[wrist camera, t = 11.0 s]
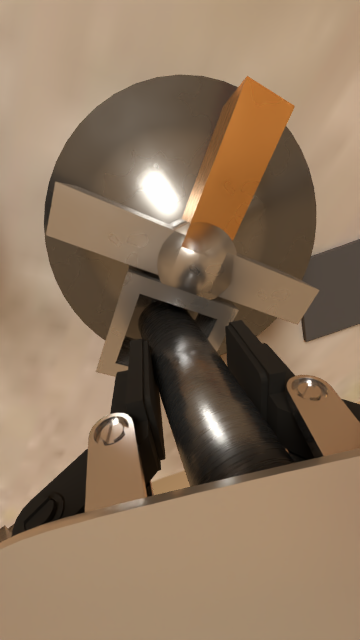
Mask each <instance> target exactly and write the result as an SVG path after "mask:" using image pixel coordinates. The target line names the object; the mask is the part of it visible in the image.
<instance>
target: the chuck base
mask: <svg viewBox="0 0 360 640" xmlns="http://www.w3.org/2000/svg"><path fill="white" fill-rule="evenodd" d="M237 88H238V87H236V86H233V85H231V84H229V83H227V82H224V81H220V80H216V79H212V78H208V77H204V76H192V75H173V76H164V77H156V78H153V79H150V80H146V81H143V82H140V83H136V84H134V85H132V86H130V87H128V88H126V89H124V90H122V91H120V92H118V93H115V94H114V95H112V96H111V97H110V98H108V99H107V100H106V101H104V102H103V103H101V104H100V105H99V106H97V107H96V108H95V109H94V110H93V111H92V112H91V113H90V114H89V115H88V116H87V117H86V118H85V119H84V120H83V121H82V122H81V123H80V124H79V125H78V127H77V128H76V129H75V131H74V132H73V134H72V135H71V136H70V138H69V139H68V141H67V142H66V144H65V146H64V148H63V150H62V152H61V154H60V155H59V157H58V159H57V161H56V164H55V167H54V170H53V173H52V176H51V178H50V181H49V186H48V191H47V196H46V201H45V215H44V230H45V242H46V248H47V252H48V257H49V262H50V265H51V268H52V271H53V273H54V276H55V279H56V281H57V283H58V285H59V287H60V289H61V291H62V293H63V295H64V297H65V298H66V300H67V301H68V303H69V304H70V306H71V307H72V309H73V310H74V312H75V313H76V314H77V315H78V316H79V317H80V319H81V320H82V321H83V322H84V323H85V324H86V325H87V326H88V327H89V328H90V329H92V330H93V331H94V332H95V333H96V334H97V335H99V336H100V337H101V338H103V339H104V340H106V337H107V334H108V331H109V328H110V325H111V322H112V318H113V315H114V312H115V309H116V306H117V303H118V299H119V296H120V293H121V290H122V287H123V284H124V280H125V277H126V274H127V271H128V268H129V264H126V263H123V262H120V261H117V260H115V259H112V258H109V257H106V256H103V255H101V254H98V253H95V252H92V251H89V250H86V249H84V248H81V247H78V246H75V245H72V244H70V243H67V242H64V241H61V240H58V239H56V238H53V237H50V236H47V235H46V232H47V226H48V220H49V215H50V209H51V203H52V198H53V192H54V187H55V181H56V182H61V183H65V184H70V185H75V186H78V187H81V188H83V189H86V190H88V191H90V192H93V193H95V194H98V195H100V196H102V197H105V198H107V199H110V200H112V201H114V202H117V203H119V204H122V205H124V206H126V207H129V208H131V209H134V210H136V211H138V212H141V213H143V214H146V215H148V216H150V217H153V218H155V219H158V220H160V221H163V222H165V223H167V224H171V223H172V222H174V221H176V220H179V219H182V216H183V214H184V211H185V208H186V205H187V203H188V200H189V197H190V195H191V192H192V189H193V187H194V184H195V181H196V179H197V176H198V173H199V170H200V168H201V165H202V162H203V160H204V157H205V154H206V152H207V149H208V146H209V144H210V141H211V138H212V135H213V133H214V130H215V127H216V125H217V122H218V119H219V117H220V114H221V111H222V108H223V106H224V105H225V103H226V102H227V101H228V100H229V98H230V97H231V96H232V95H233V93H234V92H235V91H236V90H237ZM315 230H316V201H315V193H314V186H313V182H312V179H311V175H310V171H309V167H308V165H307V163H306V160H305V158H304V155H303V153H302V151H301V149H300V147H299V145H298V144H297V142H296V140H295V138H294V137H293V135H292V133H291V132H290V131H289V129H288V128H287V127H286V126H285V129H284V131H283V133H282V135H281V137H280V139H279V142H278V144H277V146H276V148H275V150H274V152H273V155H272V157H271V159H270V161H269V163H268V165H267V168H266V170H265V172H264V174H263V176H262V178H261V181H260V183H259V185H258V187H257V189H256V192H255V194H254V196H253V198H252V200H251V202H250V205H249V207H248V209H247V211H246V213H245V215H244V218H243V220H242V222H241V224H240V226H239V228H238V231H237V233H236V235H235V237H234V239H233V243H234V246H235V248H236V252H237V253H239V254H242V255H244V256H247V257H249V258H251V259H254V260H256V261H259V262H261V263H263V264H266V265H268V266H271V267H273V268H275V269H278V270H280V271H283V272H285V273H288V274H290V275H292V276H294V277H295V278H297V279H299V280H301V281H302V279H303V277H304V275H305V272H306V269H307V266H308V264H309V261H310V258H311V253H312V249H313V245H314V239H315ZM154 301H157V299H154V298H151V297H148V296H145V295H142V294H139V297H138V300H137V303H136V306H135V309H134V312H133V315H132V317H131V320H130V323H129V326H128V329H127V332H126V335H125V336H126V337H130V338H133V339H142V338H141V335H140V332H139V329H138V320H139V317H140V315H141V313H142V311H143V310H144V309H145V308H146V307H147V306H148V305H149V304H151V303H153V302H154ZM232 302H233V301H232ZM233 304H234V305H235V306H236V307H237V308H238V310H239V311H238V313H237V315H236V317H235V319H234V320H233V321H238V320H242V321H243V322H244V323H245V324H246V326H247V327H248V328H249V329H250V330H251V331H252V333H253V334H254V335H255V336H257V335H259V334H260V333H261V332H262V331H263V330H265V329H266V328H267V327H268V326H269V325H270V324H271V323H272V322H273V321H274V320H275V319H276V318H277V317H275V316H272V315H269V314H266V313H264V312H261V311H258V310H255V309H252V308H249V307H247V306H244V305H241V304H238V303H235V302H233ZM187 310H188V309H187ZM188 312H189V313H190V315H191V316H192V317H193V319H194V320H195V319H196V317H197V315H198V313H197V312H194V311H191V310H188ZM217 353H218V354H219V356H220V355H222V354H225V353H227V350H226V336H225V338H224V340H223V341H222V343H221V345H220V347H219V349H218V351H217Z"/></svg>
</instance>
